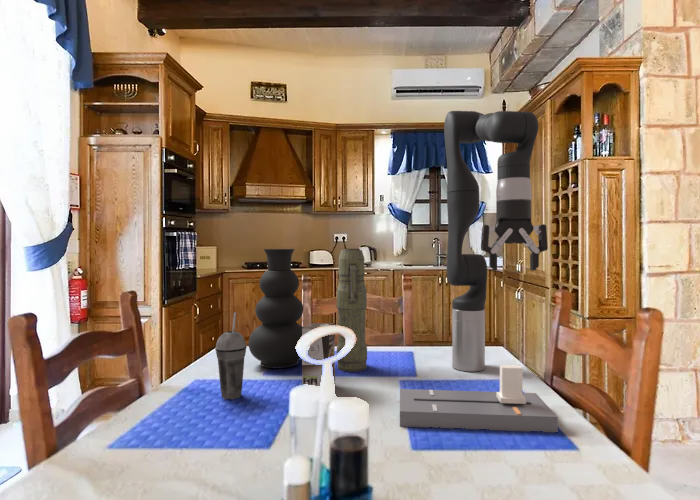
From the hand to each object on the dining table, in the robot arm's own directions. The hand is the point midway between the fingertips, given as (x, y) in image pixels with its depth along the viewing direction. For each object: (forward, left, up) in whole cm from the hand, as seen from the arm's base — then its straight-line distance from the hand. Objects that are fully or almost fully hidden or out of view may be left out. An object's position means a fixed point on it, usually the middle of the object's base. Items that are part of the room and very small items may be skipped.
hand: (513, 270), depth 103 cm
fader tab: (+10, -3, -26) cm, 28 cm away
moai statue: (-25, -40, -30) cm, 56 cm away
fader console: (+10, -11, -30) cm, 34 cm away
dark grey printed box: (-4, -46, -30) cm, 55 cm away
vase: (-26, -62, -30) cm, 74 cm away
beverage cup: (+3, -66, -30) cm, 73 cm away
